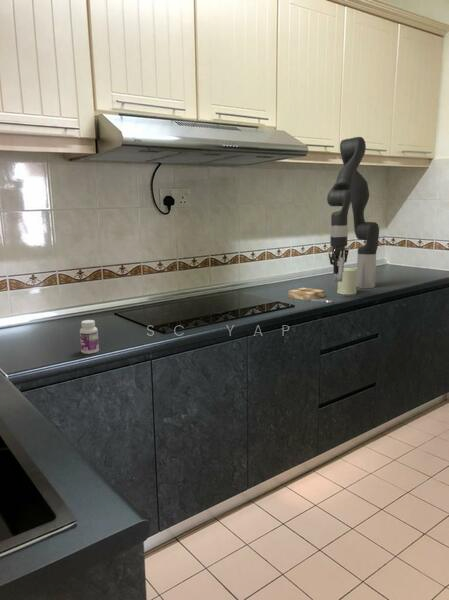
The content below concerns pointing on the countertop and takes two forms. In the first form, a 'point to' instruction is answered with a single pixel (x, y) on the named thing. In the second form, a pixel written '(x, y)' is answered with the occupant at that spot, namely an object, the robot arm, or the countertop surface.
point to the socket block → (306, 293)
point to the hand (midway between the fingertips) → (338, 272)
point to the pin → (339, 276)
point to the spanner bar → (320, 300)
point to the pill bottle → (89, 337)
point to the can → (348, 282)
